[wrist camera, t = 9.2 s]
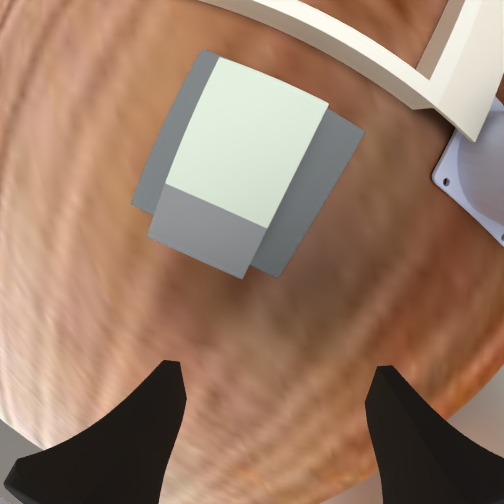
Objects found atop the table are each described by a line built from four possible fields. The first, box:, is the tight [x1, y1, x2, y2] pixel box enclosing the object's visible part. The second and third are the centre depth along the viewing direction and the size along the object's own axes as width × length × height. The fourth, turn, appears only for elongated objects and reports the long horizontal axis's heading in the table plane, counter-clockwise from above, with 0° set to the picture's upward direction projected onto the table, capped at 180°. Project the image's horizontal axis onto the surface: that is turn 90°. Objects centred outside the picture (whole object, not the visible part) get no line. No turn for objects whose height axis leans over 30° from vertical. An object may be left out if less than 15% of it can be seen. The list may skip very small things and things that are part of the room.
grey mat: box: [131, 49, 365, 279], centre depth 17 cm, size 10×10×1 cm
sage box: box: [147, 57, 329, 279], centre depth 14 cm, size 4×8×5 cm, turn 156°
